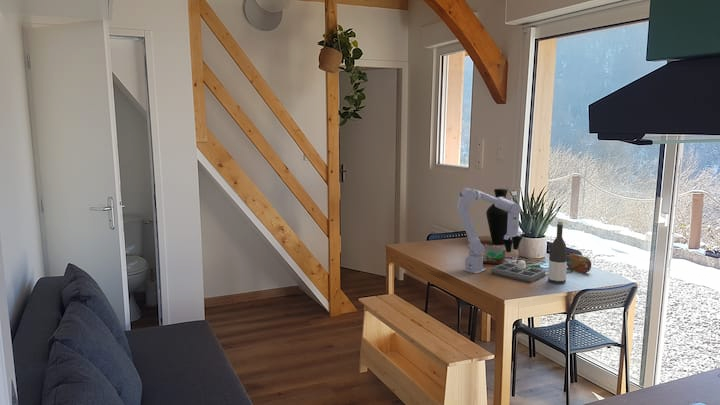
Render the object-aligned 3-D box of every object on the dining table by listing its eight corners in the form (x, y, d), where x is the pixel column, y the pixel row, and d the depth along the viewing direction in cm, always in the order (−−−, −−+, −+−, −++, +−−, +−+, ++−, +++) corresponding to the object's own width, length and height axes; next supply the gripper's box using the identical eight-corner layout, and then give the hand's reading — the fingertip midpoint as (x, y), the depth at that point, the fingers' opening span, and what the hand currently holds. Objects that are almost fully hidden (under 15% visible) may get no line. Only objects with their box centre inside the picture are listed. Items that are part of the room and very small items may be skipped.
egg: (523, 273, 259) (523, 261, 258) (515, 271, 262) (516, 260, 261) (526, 271, 262) (527, 260, 261) (519, 270, 265) (520, 258, 264)
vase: (485, 245, 321) (487, 191, 316) (485, 239, 338) (486, 187, 332) (513, 247, 317) (515, 191, 312) (511, 240, 334) (514, 188, 328)
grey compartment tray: (531, 282, 247) (531, 276, 246) (491, 273, 262) (491, 268, 262) (545, 276, 257) (545, 270, 257) (505, 267, 273) (505, 262, 272)
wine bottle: (556, 285, 243) (560, 223, 239) (544, 280, 251) (547, 220, 246) (569, 282, 246) (573, 222, 242) (556, 278, 254) (560, 219, 249)
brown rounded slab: (564, 267, 273) (565, 252, 272) (569, 266, 274) (570, 251, 273) (587, 274, 259) (588, 258, 258) (591, 274, 261) (592, 258, 259)
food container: (481, 263, 281) (482, 245, 280) (484, 260, 287) (485, 243, 285) (504, 266, 276) (504, 248, 274) (506, 263, 281) (507, 245, 280)
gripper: (513, 228, 257) (512, 254, 259) (526, 224, 267) (525, 249, 269) (500, 226, 262) (499, 252, 264) (514, 222, 272) (513, 247, 274)
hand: (511, 250), depth 267 cm, fingers open, 7 cm apart
